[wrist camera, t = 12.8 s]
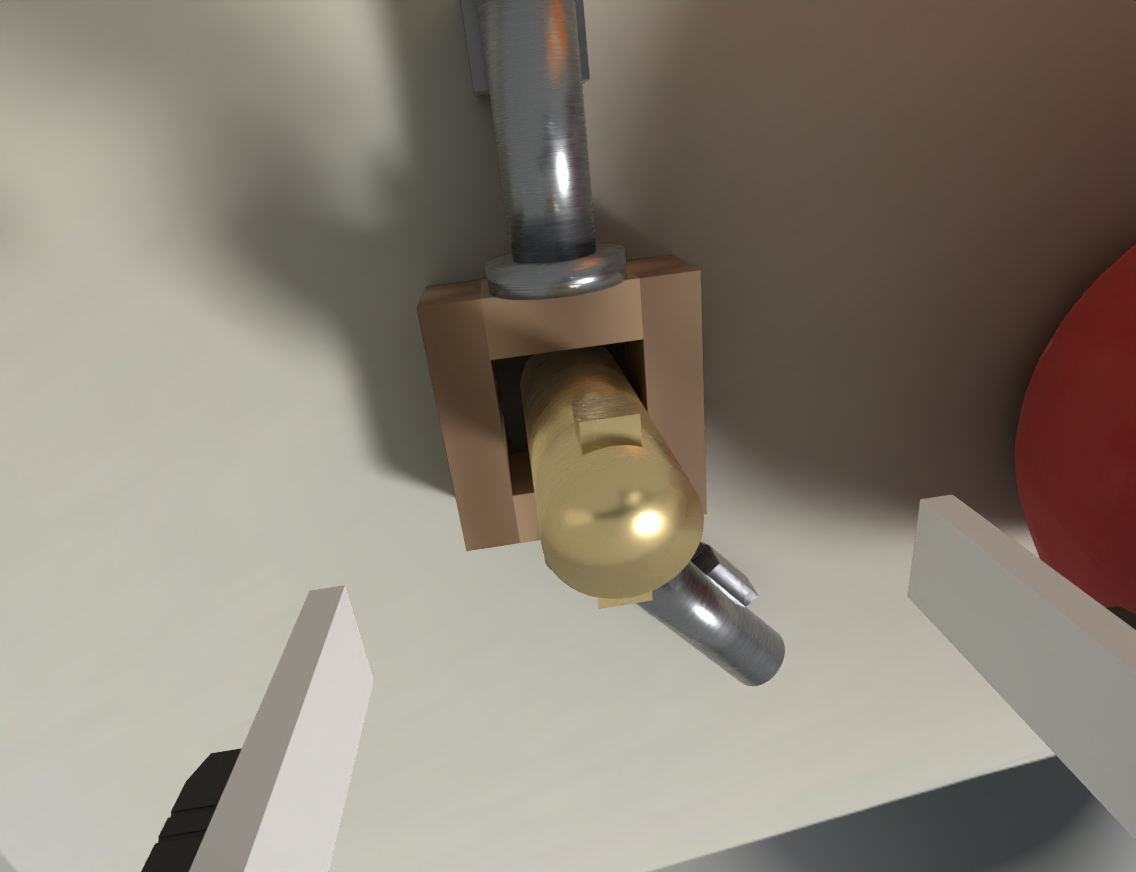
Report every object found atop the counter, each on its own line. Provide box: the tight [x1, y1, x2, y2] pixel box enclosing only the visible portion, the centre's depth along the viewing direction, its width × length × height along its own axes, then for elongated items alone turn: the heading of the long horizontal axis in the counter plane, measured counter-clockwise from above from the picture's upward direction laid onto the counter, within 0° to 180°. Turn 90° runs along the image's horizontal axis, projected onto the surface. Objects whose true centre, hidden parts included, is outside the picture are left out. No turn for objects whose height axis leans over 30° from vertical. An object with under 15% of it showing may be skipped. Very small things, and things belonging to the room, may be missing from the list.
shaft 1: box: [460, 0, 627, 300], centre depth 22 cm, size 10×5×6 cm, turn 6°
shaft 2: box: [544, 547, 785, 686], centre depth 30 cm, size 12×5×6 cm, turn 46°
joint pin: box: [521, 345, 704, 609], centre depth 23 cm, size 4×6×12 cm
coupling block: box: [417, 255, 707, 551], centre depth 26 cm, size 10×10×4 cm
